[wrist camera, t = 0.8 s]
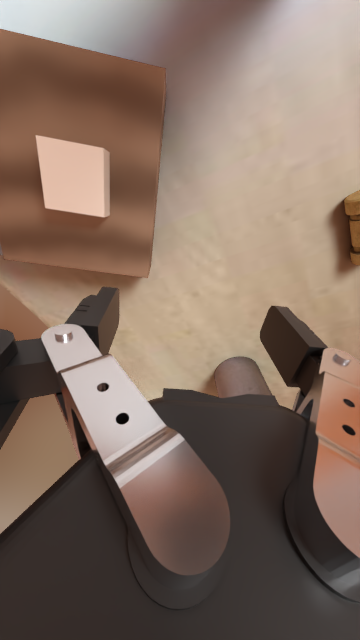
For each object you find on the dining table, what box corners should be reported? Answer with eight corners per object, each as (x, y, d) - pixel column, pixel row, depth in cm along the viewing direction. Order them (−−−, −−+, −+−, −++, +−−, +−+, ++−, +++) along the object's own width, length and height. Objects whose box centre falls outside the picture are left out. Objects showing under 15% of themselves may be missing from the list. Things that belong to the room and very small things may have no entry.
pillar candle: (267, 364, 47) (305, 430, 34) (242, 394, 51) (267, 463, 38) (228, 349, 44) (252, 414, 31) (205, 382, 49) (218, 451, 36)
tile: (48, 140, 22) (35, 135, 20) (109, 152, 23) (103, 147, 21) (55, 206, 25) (45, 208, 23) (109, 215, 26) (104, 217, 24)
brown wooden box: (-5, 55, 23) (-54, 15, 18) (166, 93, 25) (165, 68, 20) (29, 248, 33) (4, 259, 28) (150, 265, 35) (147, 277, 30)
